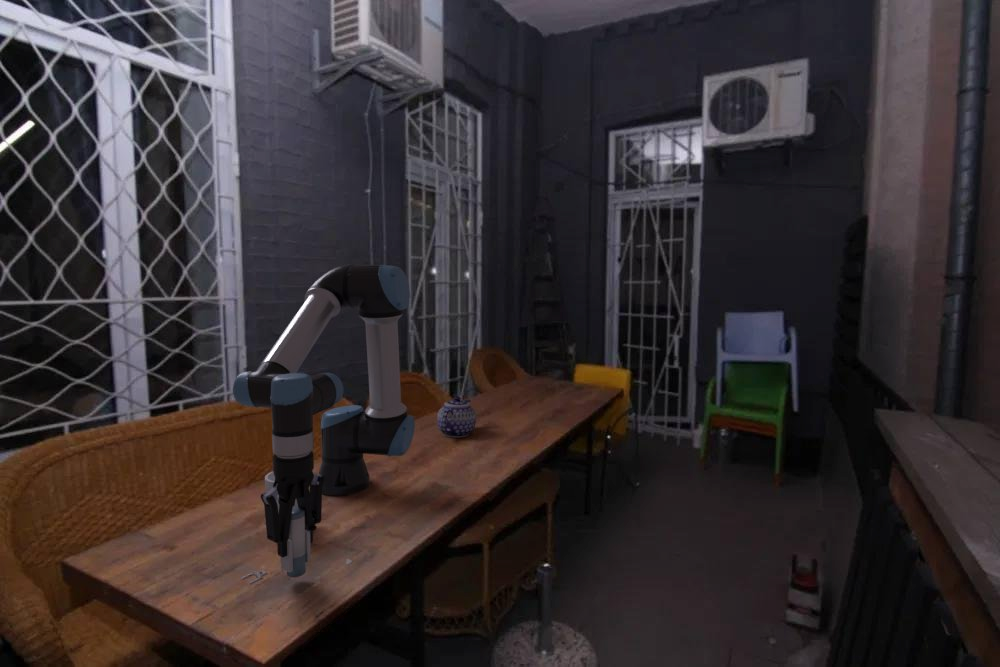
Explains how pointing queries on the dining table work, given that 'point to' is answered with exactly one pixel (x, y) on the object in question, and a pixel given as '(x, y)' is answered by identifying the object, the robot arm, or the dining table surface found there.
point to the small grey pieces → (266, 573)
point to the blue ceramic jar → (456, 418)
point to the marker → (298, 542)
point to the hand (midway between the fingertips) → (296, 564)
